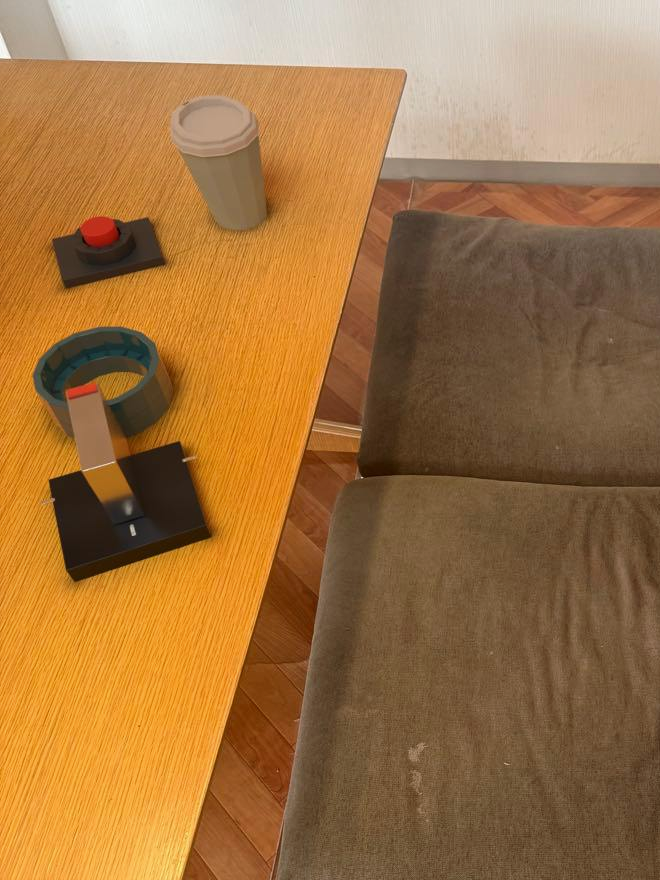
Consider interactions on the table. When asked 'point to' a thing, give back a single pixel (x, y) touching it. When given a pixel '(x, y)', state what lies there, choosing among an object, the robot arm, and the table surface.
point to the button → (99, 231)
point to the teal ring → (100, 356)
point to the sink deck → (159, 531)
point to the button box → (108, 254)
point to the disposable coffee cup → (222, 157)
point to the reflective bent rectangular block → (104, 453)
